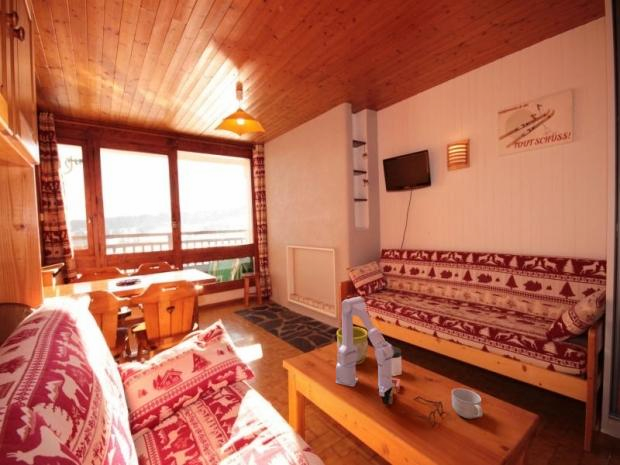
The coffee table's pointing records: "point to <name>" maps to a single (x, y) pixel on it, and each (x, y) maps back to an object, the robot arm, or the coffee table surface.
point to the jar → (396, 362)
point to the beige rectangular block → (391, 397)
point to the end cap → (396, 384)
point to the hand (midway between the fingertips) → (385, 403)
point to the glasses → (430, 412)
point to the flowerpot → (356, 342)
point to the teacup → (466, 403)
